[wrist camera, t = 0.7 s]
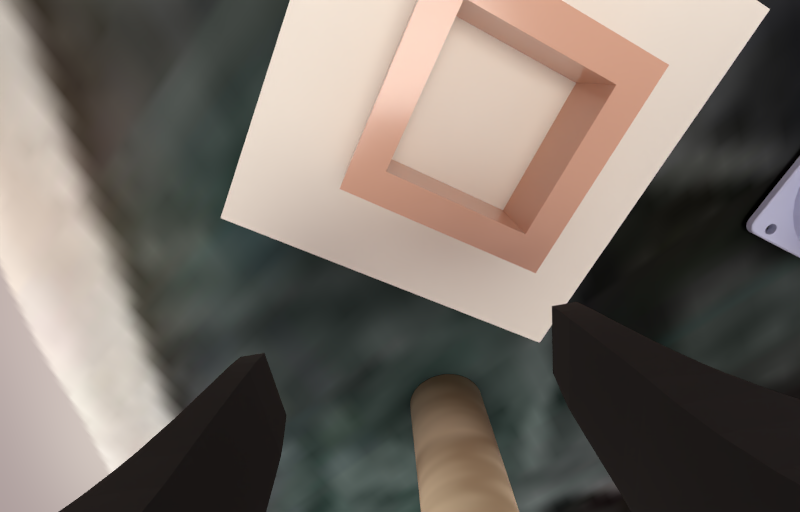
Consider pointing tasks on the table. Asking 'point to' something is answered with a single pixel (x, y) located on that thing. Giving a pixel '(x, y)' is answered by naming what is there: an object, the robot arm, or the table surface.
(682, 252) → the table surface
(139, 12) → the table surface
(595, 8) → the socket board
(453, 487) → the maple peg
